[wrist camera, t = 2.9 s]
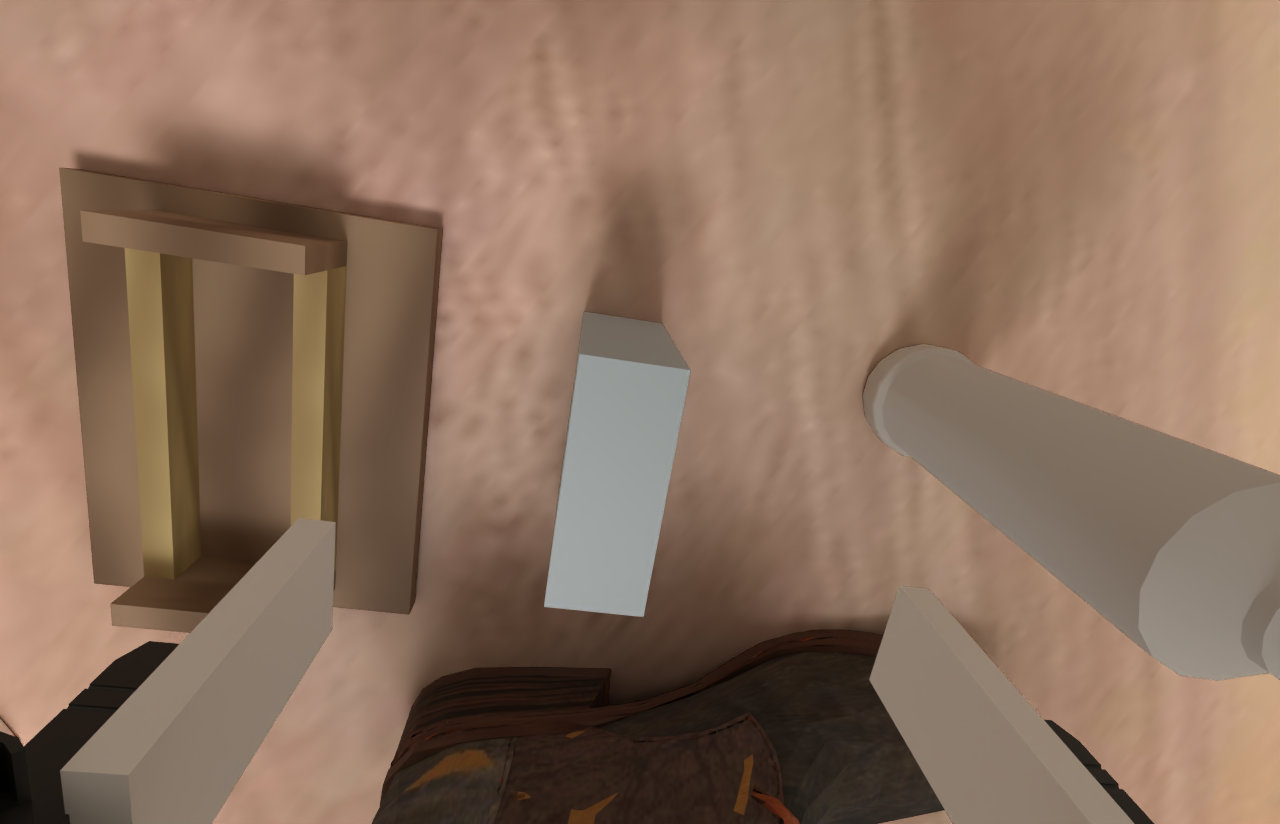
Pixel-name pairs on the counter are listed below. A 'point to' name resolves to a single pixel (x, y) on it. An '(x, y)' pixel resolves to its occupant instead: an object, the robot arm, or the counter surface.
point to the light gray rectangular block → (616, 465)
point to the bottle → (1101, 506)
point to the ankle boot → (662, 746)
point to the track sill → (246, 389)
